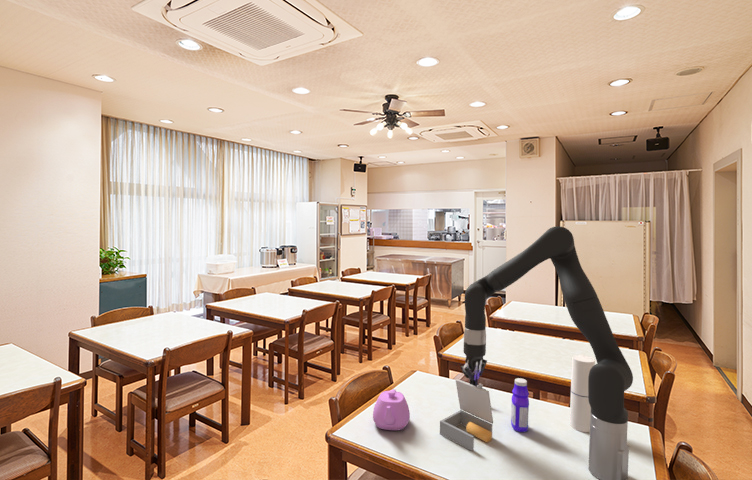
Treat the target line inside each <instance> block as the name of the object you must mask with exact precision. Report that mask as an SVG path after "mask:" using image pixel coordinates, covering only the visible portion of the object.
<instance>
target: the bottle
mask: <svg viewBox="0 0 752 480" xmlns="http://www.w3.org/2000/svg"><path fill="white" fill-rule="evenodd" d="M511 393H512V396H511V414H510V415H511V416H510V425H511V427H512V428H513V430H514V431H515V432H520V433H526V432H527V431H528V429H529V408H530V407H529V406H530V401H529V400H530V399H529V395H530V393H529V390H528V380H526V379H524V378H521V377H520V378H519V377H517V378H515V379H514V386H513V389H512V391H511Z"/></svg>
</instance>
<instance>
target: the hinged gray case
mask: <svg viewBox="0 0 752 480" xmlns="http://www.w3.org/2000/svg"><path fill="white" fill-rule="evenodd" d="M469 422H472V423H474V424H476V425H478V426H480V427H482V428H484V429H486V430H488V431H490V432H492V433H493V424H492V423H489V422H487V421H485V420H483V419H481V418H479V417H476V416H474V415H472V414H470V413H468V412H465V411H463V410H461V409H459V410H458V411H456V412H454V413H453V414H451V415H449V416H447V417H445V418H442V419H441V420H440V421H439V435H441V436H443V437H445V438H447V439H449V440H450V441H453V442H454V443H456V444H458V445H460V446H462V447H463V448H465V449H467V450H469V451H471V452H473V451H474V448H475V447H474V445H475V436H474V435H472V434H470V433H468V432H467V431H465V430H462V429H461V428H458V427H457V426H459V425H462V426H465V428H466V427H467V424H468V423H469Z"/></svg>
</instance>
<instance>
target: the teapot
mask: <svg viewBox="0 0 752 480" xmlns="http://www.w3.org/2000/svg"><path fill="white" fill-rule="evenodd" d="M410 413H411V412H410V409H409V404H408V402H407V399H406V398H405V395H404V394H403V393H402V392H400V391H397V390H396V389H394V388H393V389H391V390H385V391H382V392H381V393H380V394H379V396H378V398H377V399H376V402H375V404H374V406H373V411H372V419H373V422H374V424H375V425H376V427H377V428H379V429H381V430H386V431H400V430H403V429H405V428H406V426H407V425H408V423H409V422H410V418H411V417H410V416H411V414H410Z"/></svg>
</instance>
